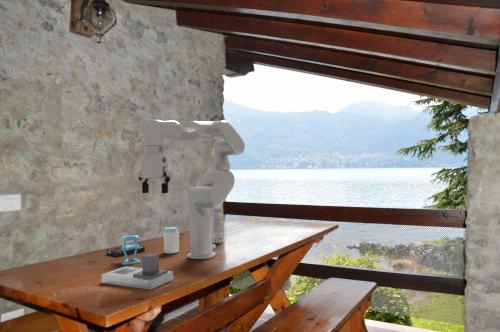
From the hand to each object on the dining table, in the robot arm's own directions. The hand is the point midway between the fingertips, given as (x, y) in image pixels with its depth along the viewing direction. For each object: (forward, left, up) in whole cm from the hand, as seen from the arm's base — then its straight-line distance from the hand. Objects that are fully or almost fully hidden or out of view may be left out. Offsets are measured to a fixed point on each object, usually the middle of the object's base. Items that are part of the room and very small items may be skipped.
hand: (155, 193), depth 155 cm
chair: (-5, -18, -31) cm, 36 cm away
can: (-26, -12, -31) cm, 42 cm away
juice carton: (-55, -5, -31) cm, 63 cm away
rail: (+17, +5, -30) cm, 35 cm away
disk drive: (-19, -33, -31) cm, 49 cm away
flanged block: (+17, +11, -30) cm, 36 cm away
